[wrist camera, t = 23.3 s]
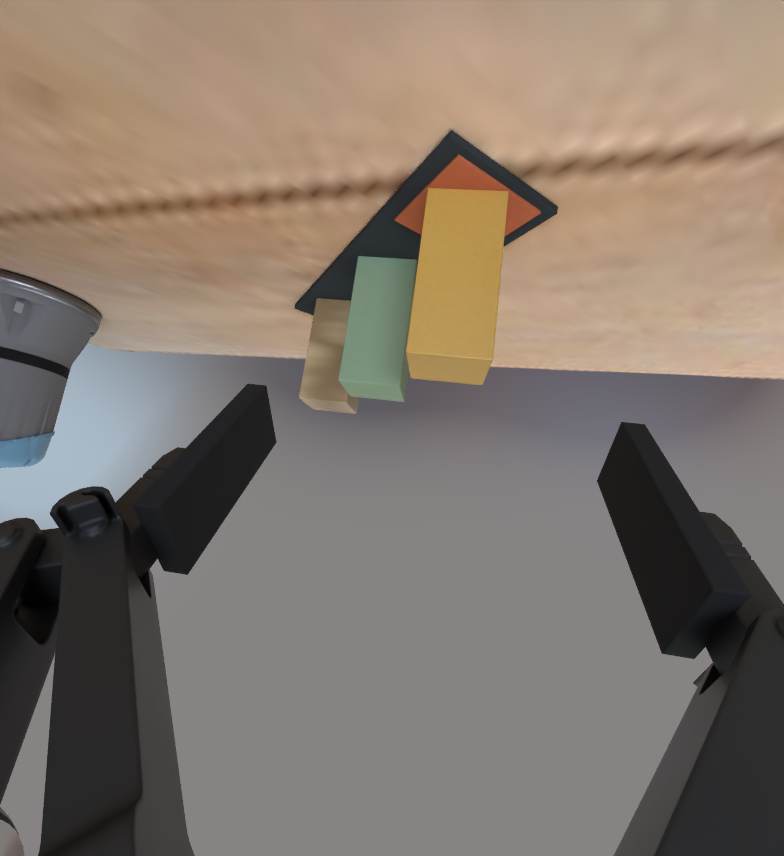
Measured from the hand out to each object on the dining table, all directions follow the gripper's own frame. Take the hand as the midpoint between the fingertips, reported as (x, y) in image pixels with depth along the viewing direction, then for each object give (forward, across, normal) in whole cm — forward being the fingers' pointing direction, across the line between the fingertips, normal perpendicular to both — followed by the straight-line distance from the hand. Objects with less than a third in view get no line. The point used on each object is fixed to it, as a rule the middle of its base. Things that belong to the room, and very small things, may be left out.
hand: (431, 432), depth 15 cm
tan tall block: (+30, -12, -6) cm, 33 cm away
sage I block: (+24, -6, 0) cm, 25 cm away
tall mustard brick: (+19, 0, +5) cm, 19 cm away
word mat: (+25, -6, 0) cm, 25 cm away
